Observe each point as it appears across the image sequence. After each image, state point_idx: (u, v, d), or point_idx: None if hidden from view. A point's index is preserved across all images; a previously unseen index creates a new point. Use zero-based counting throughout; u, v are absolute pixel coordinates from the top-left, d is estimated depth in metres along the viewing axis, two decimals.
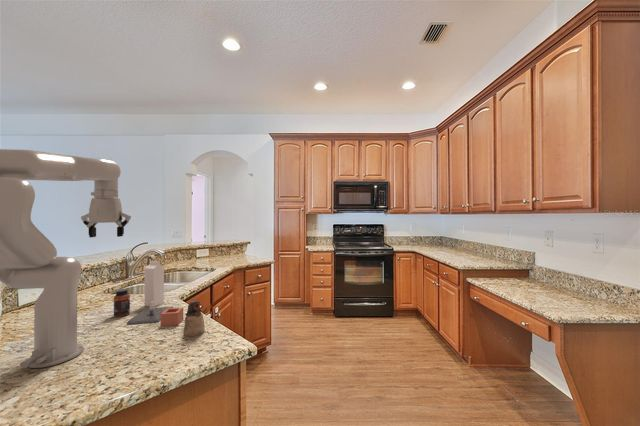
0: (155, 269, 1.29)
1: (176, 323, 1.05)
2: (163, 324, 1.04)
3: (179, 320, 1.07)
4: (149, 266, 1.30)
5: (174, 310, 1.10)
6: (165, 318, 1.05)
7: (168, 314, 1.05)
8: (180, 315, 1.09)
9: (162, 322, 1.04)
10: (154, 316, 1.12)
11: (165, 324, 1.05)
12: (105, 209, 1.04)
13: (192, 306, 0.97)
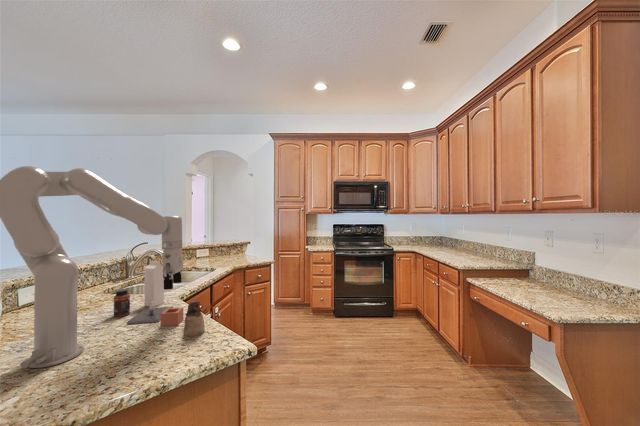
0: (155, 269, 1.29)
1: (176, 323, 1.05)
2: (163, 324, 1.04)
3: (179, 320, 1.07)
4: (149, 266, 1.30)
5: (174, 310, 1.10)
6: (165, 318, 1.05)
7: (168, 314, 1.05)
8: (180, 315, 1.09)
9: (162, 322, 1.04)
10: (154, 316, 1.12)
11: (165, 324, 1.05)
12: (180, 258, 1.10)
13: (192, 306, 0.97)
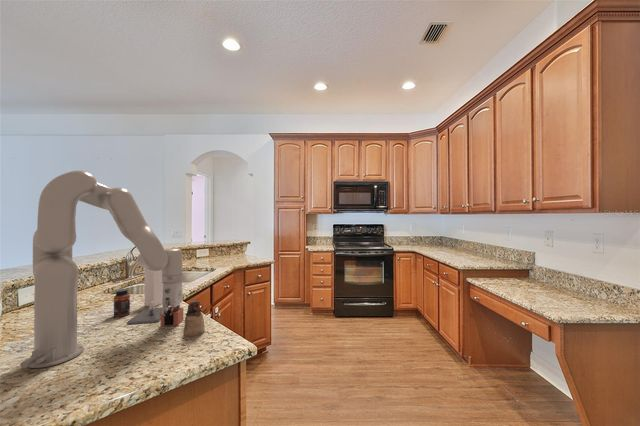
0: None
1: (176, 323, 1.05)
2: (163, 324, 1.04)
3: (179, 320, 1.07)
4: None
5: (174, 310, 1.10)
6: None
7: None
8: (180, 315, 1.09)
9: (162, 322, 1.04)
10: (154, 316, 1.12)
11: None
12: (180, 291, 1.10)
13: (192, 306, 0.97)
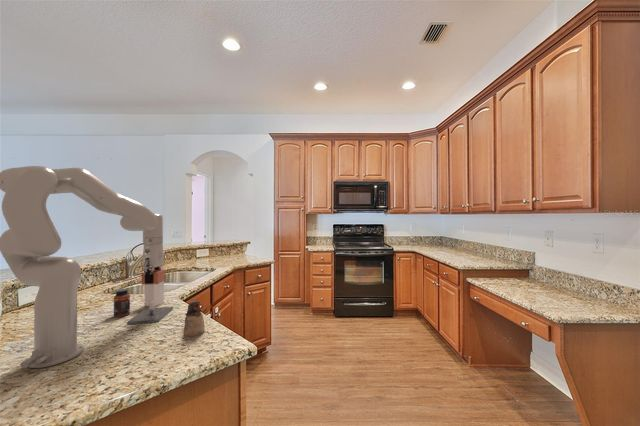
0: None
1: (156, 282, 1.13)
2: (144, 282, 1.12)
3: (159, 280, 1.15)
4: None
5: (155, 271, 1.18)
6: None
7: None
8: (161, 276, 1.16)
9: (143, 281, 1.12)
10: (154, 316, 1.12)
11: None
12: (160, 254, 1.17)
13: (192, 306, 0.97)
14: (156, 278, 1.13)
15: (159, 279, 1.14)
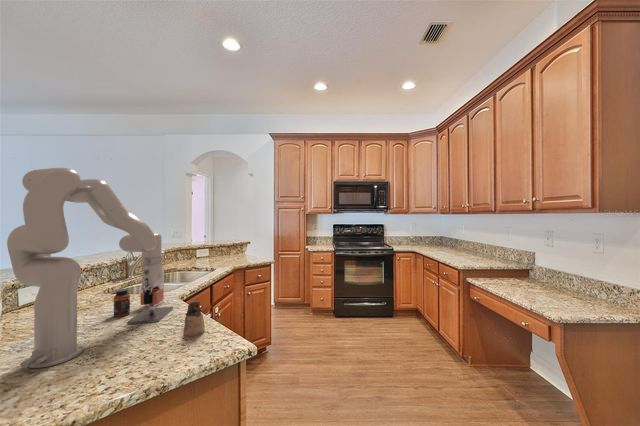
0: None
1: (155, 302, 1.13)
2: (143, 303, 1.12)
3: (158, 300, 1.15)
4: None
5: (154, 291, 1.18)
6: None
7: None
8: (160, 296, 1.17)
9: (142, 301, 1.12)
10: (154, 316, 1.12)
11: None
12: (159, 273, 1.18)
13: (192, 306, 0.97)
14: (155, 298, 1.13)
15: (158, 299, 1.15)
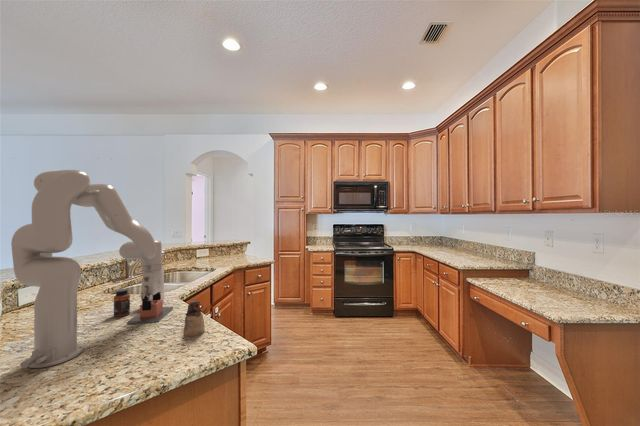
0: None
1: (155, 314, 1.13)
2: (142, 315, 1.12)
3: (158, 311, 1.15)
4: None
5: (154, 302, 1.18)
6: None
7: None
8: (159, 307, 1.16)
9: (141, 313, 1.12)
10: (154, 316, 1.12)
11: (144, 315, 1.12)
12: (159, 280, 1.18)
13: (192, 306, 0.97)
14: (155, 310, 1.13)
15: (158, 310, 1.15)
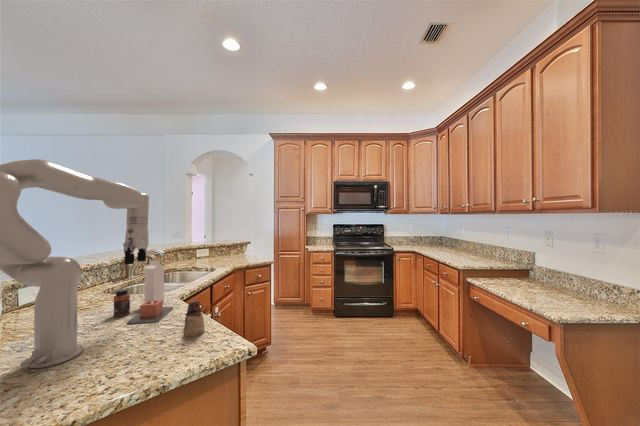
0: (155, 269, 1.29)
1: (155, 314, 1.13)
2: (142, 315, 1.12)
3: (158, 311, 1.15)
4: (149, 266, 1.30)
5: (154, 302, 1.18)
6: (144, 309, 1.12)
7: (147, 305, 1.12)
8: (159, 307, 1.16)
9: (141, 313, 1.12)
10: (154, 316, 1.12)
11: (144, 315, 1.12)
12: (145, 235, 1.11)
13: (192, 306, 0.97)
14: (155, 310, 1.13)
15: (158, 310, 1.15)
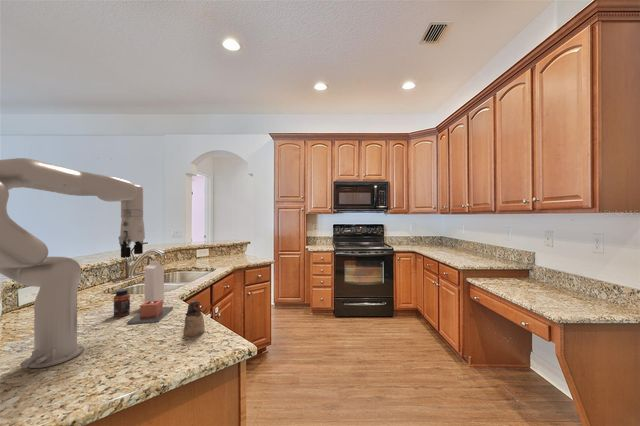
0: (155, 269, 1.29)
1: (155, 314, 1.13)
2: (142, 315, 1.12)
3: (158, 311, 1.15)
4: (149, 266, 1.30)
5: (154, 302, 1.18)
6: (144, 309, 1.12)
7: (147, 305, 1.12)
8: (159, 307, 1.16)
9: (141, 313, 1.12)
10: (154, 316, 1.12)
11: (144, 315, 1.12)
12: (140, 228, 1.09)
13: (192, 306, 0.97)
14: (155, 310, 1.13)
15: (158, 310, 1.15)
